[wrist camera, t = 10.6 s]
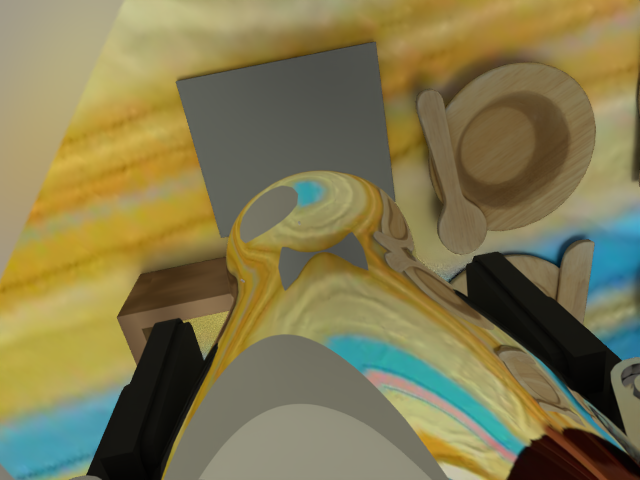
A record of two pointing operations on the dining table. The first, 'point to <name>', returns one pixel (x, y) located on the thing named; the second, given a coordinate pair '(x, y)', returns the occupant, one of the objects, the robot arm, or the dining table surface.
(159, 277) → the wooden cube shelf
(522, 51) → the dining table surface
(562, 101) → the tableware set
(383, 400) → the beer glass
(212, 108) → the grey mat
